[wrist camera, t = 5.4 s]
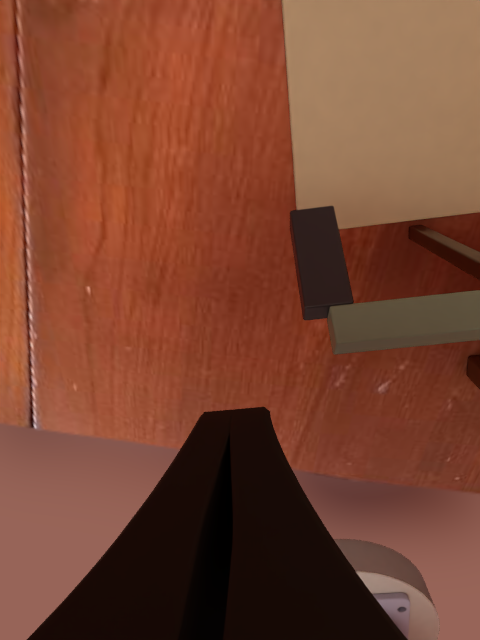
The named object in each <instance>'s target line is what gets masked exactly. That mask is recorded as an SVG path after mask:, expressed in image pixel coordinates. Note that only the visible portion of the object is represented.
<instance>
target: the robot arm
mask: <svg viewBox="0 0 480 640" xmlns="http://www.w3.org/2000/svg"><path fill="white" fill-rule="evenodd" d="M409 618H410V600H409V597H408V595H407V594H405V593H402V592H397V593H380V594H372V593H371V592H370V590H369V589H368V588H367V587H366V585H365V584H364V582H363V581H362V580H361V578H360V577H359V575H358V574H357V573H356V571H355V570H354V569H353V567H352V566H351V564H350V563H349V562H348V560H347V559H346V557H345V556H344V554H343V553H342V552H341V550H340V549H339V547H338V546H337V544H336V543H335V541H334V540H333V538H332V537H331V535H330V534H329V532H328V531H327V529H326V527H325V526H324V524H323V523H322V521H321V519H320V518H319V516H318V515H317V513H316V512H315V510H314V508H313V507H312V505H311V503H310V502H309V500H308V498H307V497H306V495H305V493H304V491H303V490H302V488H301V486H300V484H299V482H298V480H297V478H296V476H295V474H294V473H293V471H292V469H291V467H290V465H289V463H288V461H287V459H286V457H285V455H284V453H283V450H282V448H281V446H280V443H279V441H278V439H277V436H276V433H275V431H274V428H273V425H272V421H271V417H270V411H269V410H267V409H266V408H265V407H258V408H246V409H235V410H223V411H212V412H204V413H203V414H202V415H201V417H200V418H199V420H198V421H197V423H196V425H195V426H194V428H193V430H192V431H191V433H190V435H189V436H188V438H187V440H186V441H185V443H184V445H183V446H182V448H181V449H180V451H179V452H178V454H177V456H176V457H175V459H174V460H173V462H172V463H171V465H170V466H169V468H168V470H167V471H166V472H165V474H164V475H163V477H162V478H161V480H160V481H159V483H158V484H157V485H156V487H155V488H154V490H153V491H152V493H151V494H150V495H149V497H148V498H147V500H146V501H145V502H144V504H143V505H142V506H141V508H140V509H139V510H138V511H137V513H136V514H135V515H134V517H133V518H132V519H131V521H130V522H129V523H128V525H127V526H126V527H125V529H124V530H123V531H122V533H121V534H120V535H119V536H118V538H117V539H116V540H115V542H114V543H113V544H112V545H111V546H110V548H109V549H108V550H107V551H106V553H105V554H104V555H103V556H102V557H101V559H100V560H99V561H98V562H97V563H96V565H95V566H94V567H93V568H92V569H91V571H90V572H89V573H88V574H87V575H86V576H85V577H84V578H83V580H82V581H81V582H80V583H79V584H78V585H77V586H76V587H75V589H74V590H73V591H72V592H71V593H70V594H69V595H68V597H67V598H66V599H65V600H64V601H63V602H62V603H61V604H60V605H59V606H58V607H57V609H56V610H55V611H54V612H53V613H52V614H51V615H50V616H49V617H48V618H47V619H46V620H45V621H44V622H43V623H42V624H41V625H40V626H39V627H38V628H37V630H36V631H35V632H34V633H33V634H32V635H31V636H30V637H29V638H28V639H27V640H408V634H409Z"/></svg>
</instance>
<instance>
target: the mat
mask: <svg viewBox="0 0 480 640" xmlns="http://www.w3.org/2000/svg"><path fill="white" fill-rule="evenodd" d="M282 14H283V28H284V42H285V56H286V70H287V84H288V98H289V112H290V127H291V141H292V155H293V169H294V183H295V197H296V210H301V209H308V208H316V207H324V206H334V209H335V214H336V219H337V224H338V229H346V228H355V227H363V226H371V225H379V224H387V223H396V222H404V221H412V220H420V219H428V218H437V217H445V216H453V215H461V214H469V213H477V212H480V0H282Z"/></svg>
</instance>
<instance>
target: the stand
mask: <svg viewBox="0 0 480 640" xmlns="http://www.w3.org/2000/svg"><path fill="white" fill-rule="evenodd" d="M409 239H411V240H413V241H414V242H416V243H418V244H419V245H421V246H423V247H424V248H426V249H428V250H429V251H431V252H433V253H434V254H436V255H438V256H440V257H441V258H443V259H445V260H446V261H448V262H450V263H451V264H453V265H455V266H456V267H458V268H460V269H461V270H463V271H465V272H466V273H468V274H470V275H472V276H473V277H475V278H477V279H478V280H480V252H478V251H476V250H474V249H472V248H470V247H468V246H465V245H463V244H461V243H459V242H457V241H455V240H453V239H451V238H448V237H446V236H444V235H442V234H440V233H438V232H436V231H434V230H431V229H429V228H427V227H425V226H423V225H415V226H410V227H409ZM467 376H468V377H469V378H470V380H471V381H472V382H473V383H474V384H475V385H476V386H477V387H478V388H479V389H480V356H472V357H469V358H468V367H467Z"/></svg>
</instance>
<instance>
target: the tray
mask: <svg viewBox="0 0 480 640" xmlns="http://www.w3.org/2000/svg"><path fill="white" fill-rule="evenodd" d="M290 232H291V239H292V246H293V253H294V260H295V266H296V273H297V280H298V287H299V294H300V301H301V307H302V314H303V319H304V320H313V319H323V318H327V323H328V328H329V334H330V340H331V346H332V351H333V354H344V353H354V352H364V351H374V350H384V349H394V348H404V347H414V346H424V345H434V344H444V343H454V342H464V341H474V340H480V290H475V291H466V292H457V293H448V294H438V295H429V296H420V297H411V298H402V299H392V300H383V301H374V302H365V303H356V304H353V302H354V301H353V296H352V291H351V286H350V282H349V277H348V272H347V267H346V262H345V258H344V253H343V248H342V243H341V238H340V233H339V229H338V224H337V219H336V214H335V209H334V206H324V207H316V208H308V209H301V210H293V211H291V212H290Z"/></svg>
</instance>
